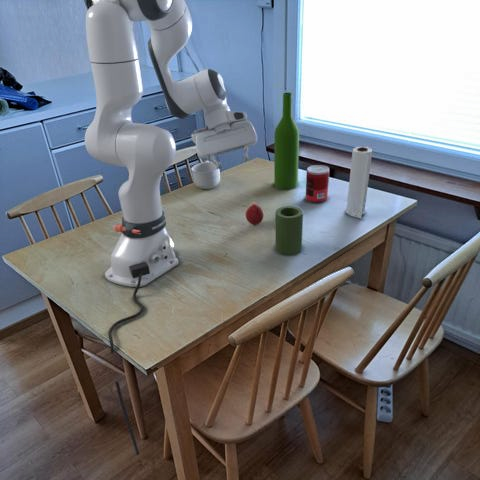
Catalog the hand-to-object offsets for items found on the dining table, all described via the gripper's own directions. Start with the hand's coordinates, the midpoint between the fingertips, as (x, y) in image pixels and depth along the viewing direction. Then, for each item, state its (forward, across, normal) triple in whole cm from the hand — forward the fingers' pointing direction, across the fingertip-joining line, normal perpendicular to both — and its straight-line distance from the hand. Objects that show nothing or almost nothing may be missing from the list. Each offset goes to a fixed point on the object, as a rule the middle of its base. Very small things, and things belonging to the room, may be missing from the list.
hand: (233, 164), depth 151 cm
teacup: (-4, -6, +32) cm, 33 cm away
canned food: (+17, +28, +12) cm, 35 cm away
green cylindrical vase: (+32, +6, -14) cm, 36 cm away
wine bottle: (+7, +22, +25) cm, 34 cm away
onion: (+21, +1, +1) cm, 21 cm away
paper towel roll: (+27, +35, 0) cm, 44 cm away
